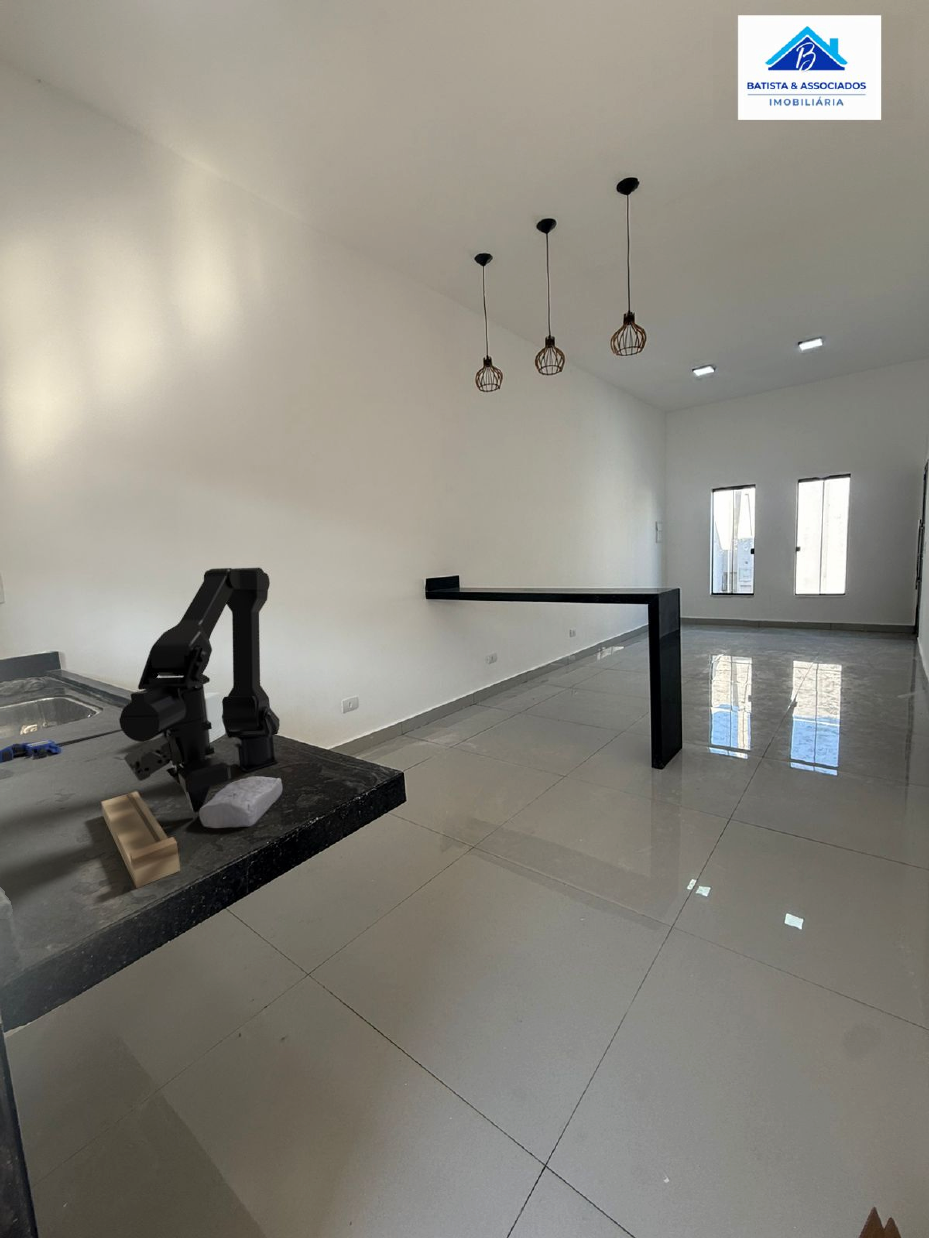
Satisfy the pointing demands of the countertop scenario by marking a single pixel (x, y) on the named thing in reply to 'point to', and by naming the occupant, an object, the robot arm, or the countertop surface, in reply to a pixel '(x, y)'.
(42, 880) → the countertop surface
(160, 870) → the wooden grooved rail
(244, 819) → the stone block
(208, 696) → the skincare box
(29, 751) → the bar clamp
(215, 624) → the robot arm
